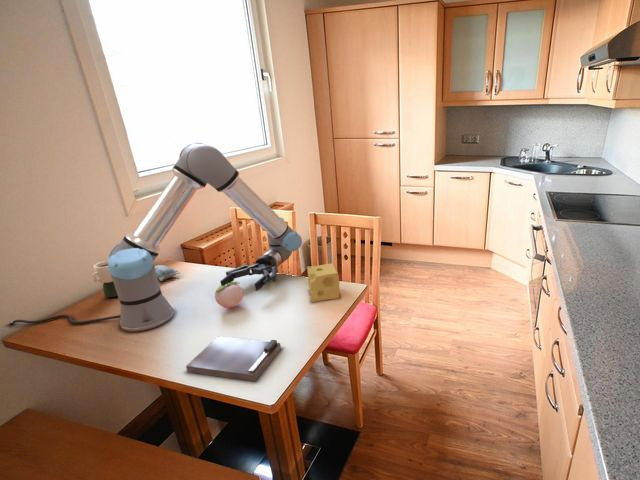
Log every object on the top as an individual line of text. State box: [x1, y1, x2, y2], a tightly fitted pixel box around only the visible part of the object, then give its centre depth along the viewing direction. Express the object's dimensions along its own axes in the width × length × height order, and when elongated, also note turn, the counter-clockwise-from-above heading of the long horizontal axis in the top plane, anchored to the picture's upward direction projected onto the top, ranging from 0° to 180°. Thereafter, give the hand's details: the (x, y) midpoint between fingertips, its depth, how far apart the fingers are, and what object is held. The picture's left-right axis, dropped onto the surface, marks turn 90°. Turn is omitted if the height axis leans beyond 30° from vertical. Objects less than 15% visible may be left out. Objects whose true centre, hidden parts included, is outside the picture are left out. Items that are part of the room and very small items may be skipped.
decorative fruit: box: [214, 281, 244, 309], centre depth 130 cm, size 9×8×10 cm
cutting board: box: [185, 335, 282, 383], centre depth 104 cm, size 20×14×3 cm
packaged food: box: [154, 264, 181, 282], centre depth 156 cm, size 9×12×5 cm
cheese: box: [306, 263, 340, 303], centre depth 137 cm, size 10×11×10 cm
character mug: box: [91, 260, 118, 298], centre depth 141 cm, size 11×7×13 cm, turn 159°
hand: (238, 285), depth 134 cm, fingers open, 13 cm apart
